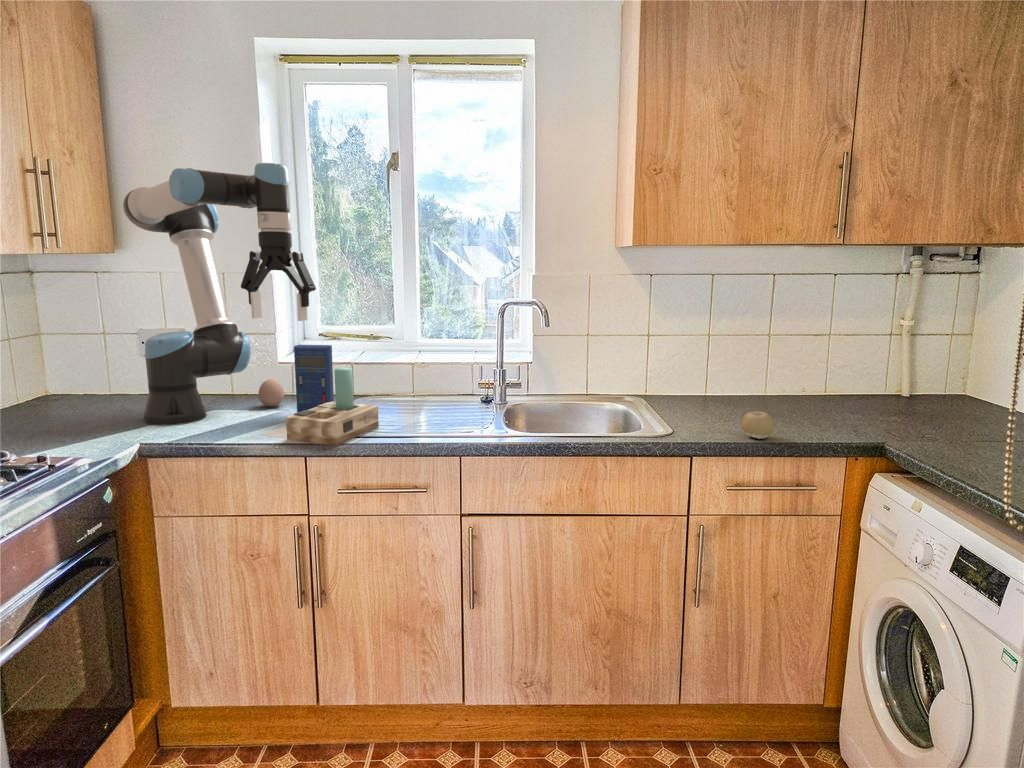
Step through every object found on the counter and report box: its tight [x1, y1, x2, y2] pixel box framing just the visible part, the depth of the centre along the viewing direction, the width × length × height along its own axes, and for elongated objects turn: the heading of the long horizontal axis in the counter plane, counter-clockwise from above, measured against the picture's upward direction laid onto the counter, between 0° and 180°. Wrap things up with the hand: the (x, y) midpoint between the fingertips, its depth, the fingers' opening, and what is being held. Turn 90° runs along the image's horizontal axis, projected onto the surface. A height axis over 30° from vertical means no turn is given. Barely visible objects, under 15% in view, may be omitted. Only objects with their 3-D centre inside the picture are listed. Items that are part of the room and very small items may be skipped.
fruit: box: [741, 407, 774, 436], centre depth 165 cm, size 8×7×8 cm
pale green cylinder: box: [333, 367, 355, 411], centre depth 166 cm, size 4×4×14 cm
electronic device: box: [293, 344, 335, 413], centre depth 179 cm, size 10×5×20 cm, turn 91°
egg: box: [257, 378, 285, 408], centre depth 191 cm, size 7×7×8 cm
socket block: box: [285, 401, 379, 447], centre depth 162 cm, size 14×19×6 cm
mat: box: [260, 426, 287, 439], centre depth 162 cm, size 8×8×1 cm
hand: (279, 319), depth 159 cm, fingers open, 13 cm apart
